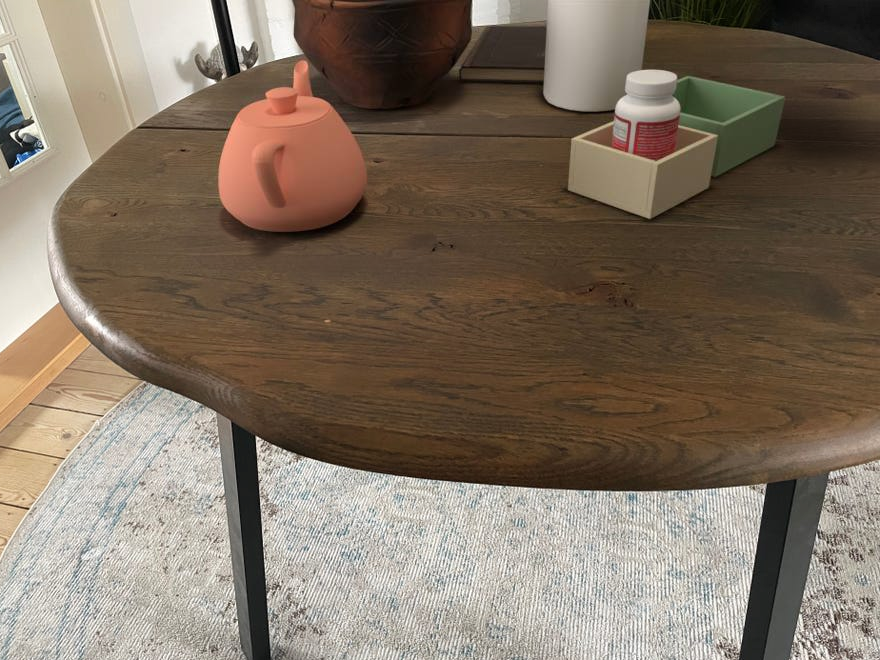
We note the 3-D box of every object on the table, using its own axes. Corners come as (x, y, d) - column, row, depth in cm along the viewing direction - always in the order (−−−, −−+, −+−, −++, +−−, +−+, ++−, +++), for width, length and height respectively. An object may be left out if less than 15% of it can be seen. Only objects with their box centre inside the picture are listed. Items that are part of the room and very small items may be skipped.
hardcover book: (581, 41, 132) (582, 26, 130) (571, 84, 114) (572, 67, 112) (483, 40, 135) (484, 26, 134) (459, 82, 117) (459, 65, 116)
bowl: (484, 70, 121) (485, -41, 113) (466, 127, 102) (466, -2, 93) (324, 70, 126) (313, -37, 117) (277, 125, 106) (259, 1, 97)
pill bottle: (679, 181, 84) (696, 72, 77) (652, 201, 80) (668, 89, 74) (624, 168, 87) (637, 63, 81) (596, 187, 83) (607, 79, 77)
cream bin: (708, 187, 83) (718, 135, 80) (650, 219, 78) (657, 164, 75) (626, 162, 90) (632, 112, 87) (567, 190, 85) (571, 138, 82)
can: (527, 91, 112) (534, -71, 100) (609, 79, 114) (625, -80, 103) (567, 119, 102) (580, -57, 91) (656, 105, 105) (679, -67, 93)
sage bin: (774, 145, 92) (785, 96, 89) (715, 177, 86) (724, 125, 82) (680, 121, 100) (688, 75, 96) (620, 149, 93) (625, 100, 90)
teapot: (253, 166, 95) (236, 58, 87) (381, 164, 93) (374, 54, 86) (198, 255, 77) (171, 129, 70) (355, 255, 75) (343, 125, 68)
